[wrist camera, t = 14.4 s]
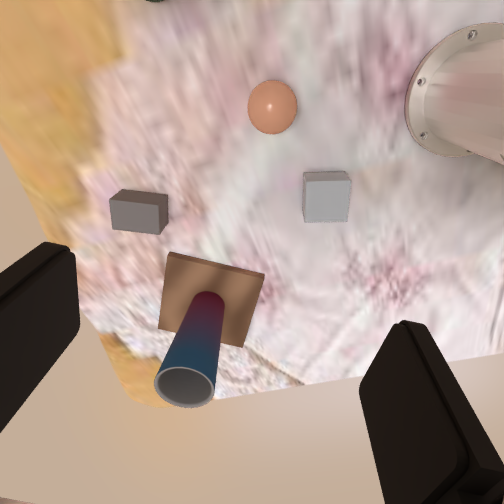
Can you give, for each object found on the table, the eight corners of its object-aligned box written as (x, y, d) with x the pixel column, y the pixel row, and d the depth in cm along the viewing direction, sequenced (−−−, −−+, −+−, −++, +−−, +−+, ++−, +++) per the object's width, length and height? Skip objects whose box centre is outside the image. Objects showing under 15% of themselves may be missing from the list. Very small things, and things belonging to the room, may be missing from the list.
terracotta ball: (285, 73, 35) (289, 72, 32) (298, 120, 37) (302, 124, 34) (242, 90, 36) (240, 91, 32) (256, 135, 38) (256, 140, 35)
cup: (234, 320, 51) (220, 406, 38) (192, 323, 52) (164, 409, 39) (225, 283, 48) (206, 365, 34) (181, 288, 48) (145, 369, 35)
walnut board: (264, 274, 48) (263, 278, 47) (243, 342, 54) (242, 347, 53) (169, 251, 47) (167, 255, 46) (160, 323, 54) (157, 328, 53)
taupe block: (167, 194, 43) (158, 205, 39) (168, 222, 45) (159, 234, 41) (122, 188, 43) (108, 199, 39) (125, 216, 45) (112, 229, 41)
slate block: (344, 170, 40) (351, 180, 36) (341, 209, 42) (347, 221, 39) (303, 172, 40) (306, 181, 37) (302, 210, 43) (304, 222, 39)
